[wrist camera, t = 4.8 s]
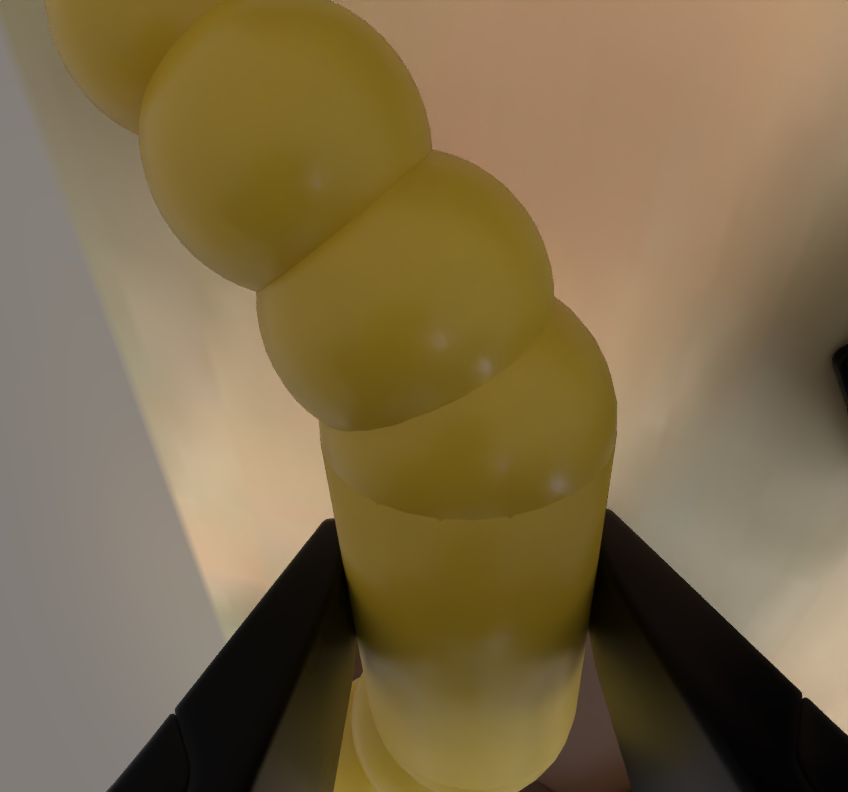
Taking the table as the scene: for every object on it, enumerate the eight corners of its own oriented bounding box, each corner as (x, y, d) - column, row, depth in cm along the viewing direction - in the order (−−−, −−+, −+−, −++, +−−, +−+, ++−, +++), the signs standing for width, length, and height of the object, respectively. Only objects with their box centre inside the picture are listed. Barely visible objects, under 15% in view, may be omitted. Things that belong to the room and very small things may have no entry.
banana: (543, 727, 14) (573, 915, 11) (304, 733, 14) (273, 919, 11) (628, -161, 6) (844, -346, 3) (43, -118, 6) (-338, -247, 3)
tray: (803, 721, 31) (833, 779, 29) (578, 806, 36) (588, 861, 34) (561, 496, 23) (576, 552, 20) (316, 649, 28) (306, 708, 26)
